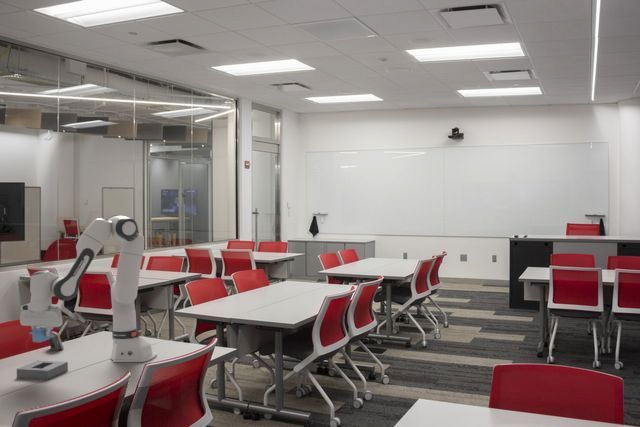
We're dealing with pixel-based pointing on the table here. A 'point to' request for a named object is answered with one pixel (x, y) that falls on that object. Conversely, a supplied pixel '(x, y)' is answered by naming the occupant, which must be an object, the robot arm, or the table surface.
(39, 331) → the servo
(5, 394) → the table surface
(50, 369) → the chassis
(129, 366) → the table surface
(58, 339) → the electrical switch
